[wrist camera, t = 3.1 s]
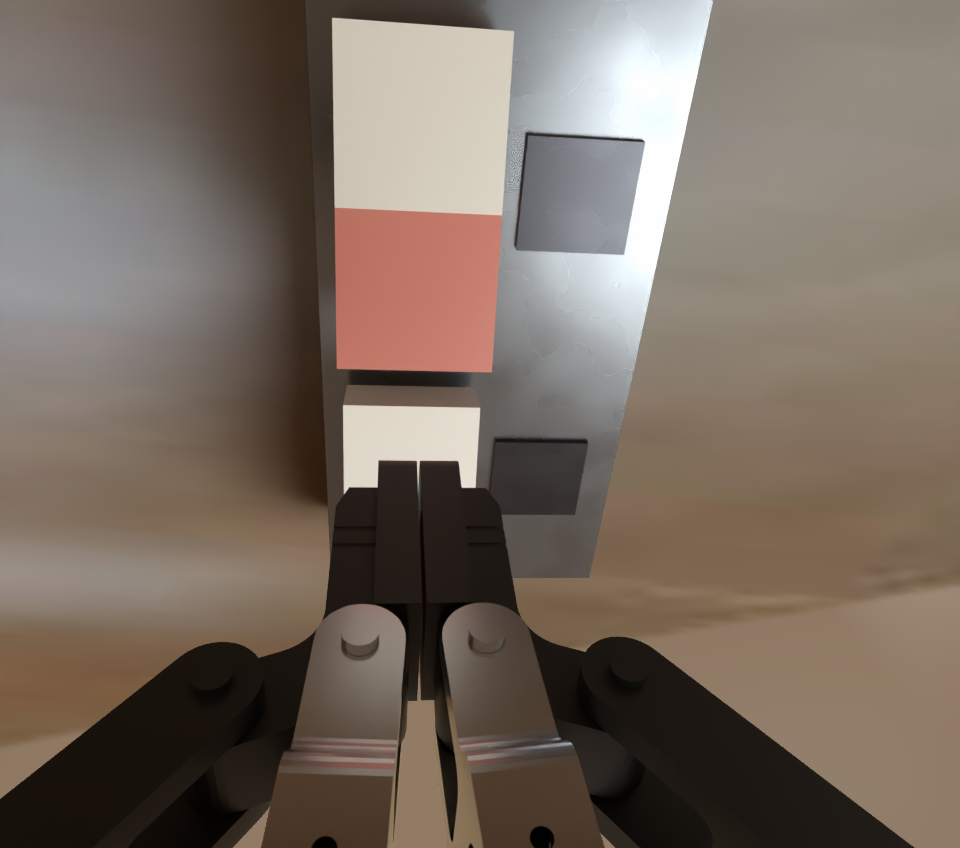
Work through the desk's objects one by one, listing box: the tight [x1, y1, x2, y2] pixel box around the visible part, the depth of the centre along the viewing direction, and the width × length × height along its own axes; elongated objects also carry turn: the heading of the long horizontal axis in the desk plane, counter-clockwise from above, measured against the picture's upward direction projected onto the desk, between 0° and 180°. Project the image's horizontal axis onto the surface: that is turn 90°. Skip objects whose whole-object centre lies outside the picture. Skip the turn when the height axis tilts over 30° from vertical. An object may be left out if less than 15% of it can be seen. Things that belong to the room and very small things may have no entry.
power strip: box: [305, 0, 713, 578], centre depth 23 cm, size 10×30×4 cm, turn 175°
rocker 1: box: [332, 18, 514, 372], centre depth 19 cm, size 4×8×2 cm, turn 175°
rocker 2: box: [343, 385, 480, 494], centre depth 25 cm, size 4×8×2 cm, turn 176°
